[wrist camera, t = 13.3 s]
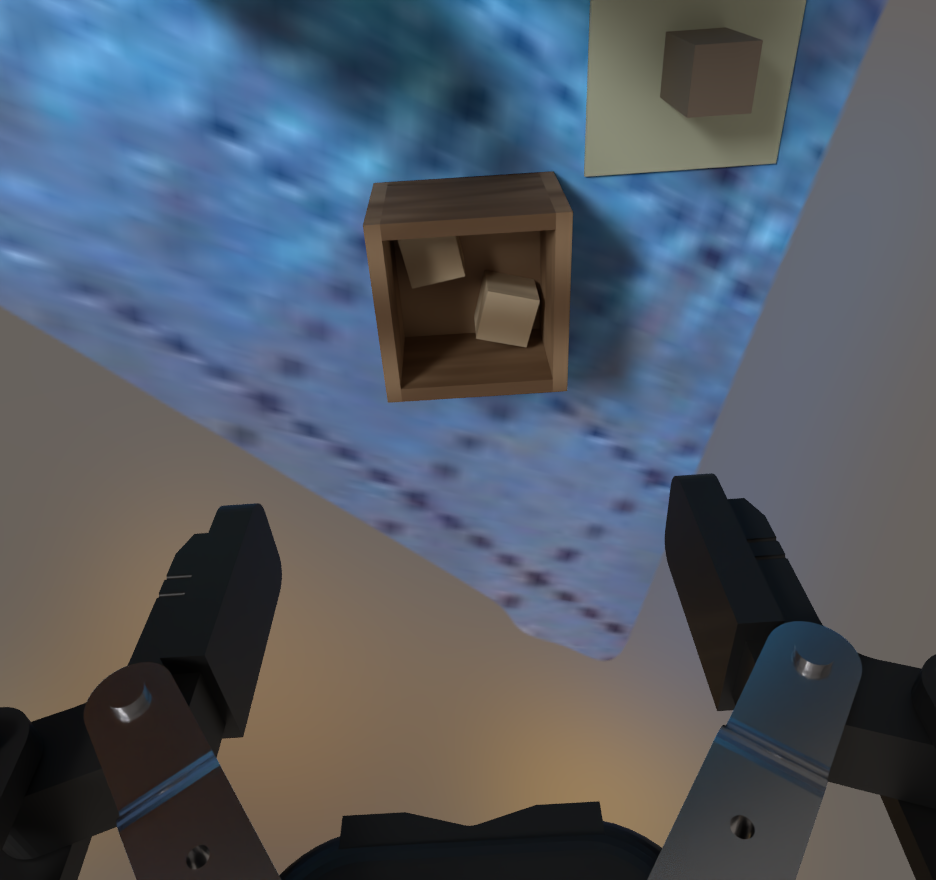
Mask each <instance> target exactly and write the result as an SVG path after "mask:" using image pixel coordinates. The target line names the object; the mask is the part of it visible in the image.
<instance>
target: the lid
mask: <svg viewBox="0 0 936 880" xmlns="http://www.w3.org/2000/svg"><path fill="white" fill-rule="evenodd" d="M805 5H806V0H590V19H589V47H588V76H587V105H586V134H585V162H584V176H585V177H588V176H603V175H617V174H631V173H645V172H660V171H674V170H688V169H702V168H717V167H731V166H745V165H759V164H773V163H776V160H777V155H778V149H779V144H780V139H781V133H782V128H783V123H784V117H785V112H786V107H787V101H788V96H789V90H790V85H791V80H792V74H793V69H794V64H795V58H796V53H797V48H798V42H799V37H800V32H801V26H802V21H803V16H804V10H805Z"/></svg>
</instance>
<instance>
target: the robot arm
mask: <svg viewBox="0 0 936 880" xmlns="http://www.w3.org/2000/svg"><path fill="white" fill-rule="evenodd" d="M665 550H666V557H667V562H668V565H669V568H670V571H671V574H672V577H673V580H674V583H675V586H676V589H677V592H678V595H679V598H680V601H681V604H682V607H683V610H684V613H685V616H686V619H687V622H688V625H689V628H690V631H691V634H692V637H693V640H694V643H695V646H696V649H697V652H698V655H699V658H700V661H701V664H702V667H703V670H704V673H705V676H706V679H707V682H708V684H709V688H710V691H711V694H712V697H713V700H714V703H715V706H716V709H717V711H725V710H733V712H732V715H731V717H730V719H729V721H728V723H727V724H726V726H725V725H723V726H722V727H721V728H720V730H719V732H718V733H717V735H716V737H715V739H714V741H713V743H712V745H711V748H710V750H709V752H708V754H707V756H706V758H705V760H704V762H703V764H702V767H701V769H700V771H699V773H698V775H697V777H696V779H695V781H694V783H693V785H692V787H691V790H690V791H689V794H688V796H687V798H686V800H685V802H684V804H683V806H682V808H681V810H680V813H679V815H678V817H677V819H676V821H675V823H674V825H673V827H672V829H671V831H670V833H669V835H668V837H667V839H666V842H665V844H664V846H663V848H661V847H660V846H659V845H657V844H656V843H654V842H652V841H651V840H649V839H648V838H646V837H645V836H642V835H641V834H639V833H637V832H635V831H633V830H630V829H628V828H625V827H622V826H620V825H617V824H614V823H609V822H605V821H603V820H602V815H601V808H600V803H599V802H582V803H565V804H548V805H535V806H532V807H529V808H526V809H523V810H520V811H517V812H514V813H511V814H508V815H505V816H502V817H499V818H496V819H493V820H490V821H487V822H484V823H481V824H478V825H474V826H466V825H465V826H464V825H460V824H456V823H451V822H446V821H442V820H438V819H433V818H428V817H424V816H419V815H415V814H410V813H405V812H404V813H386V814H370V815H352V816H343V818H342V826H341V835H340V837H337V838H334V839H331V840H329V841H327V842H325V843H323V844H321V845H319V846H317V847H315V848H313V849H312V850H310V851H309V852H307V853H306V854H304V855H303V856H301V857H300V858H299V859H297V860H296V861H295V862H294V863H292V864H291V865H290V866H289V867H287V868H286V869H285V871H283V872H282V873H281V874H280V875H279V874H278V873H277V871H276V869H275V867H274V865H273V863H272V861H271V860H270V858H269V856H268V854H267V852H266V850H265V848H264V847H263V845H262V843H261V841H260V839H259V837H258V835H257V833H256V831H255V830H254V828H253V826H252V824H251V822H250V820H249V818H248V816H247V815H246V813H245V811H244V809H243V807H242V805H241V803H240V801H239V800H238V798H237V796H236V794H235V792H234V791H233V788H232V787H231V785H230V783H229V781H228V779H227V777H226V775H225V773H224V772H223V770H222V768H221V766H220V764H219V762H218V760H217V754H218V751H219V747H220V743H221V740H222V738H238V737H243V735H244V731H245V727H246V724H247V720H248V716H249V712H250V708H251V704H252V700H253V696H254V692H255V688H256V684H257V680H258V676H259V672H260V668H261V664H262V660H263V656H264V652H265V648H266V644H267V640H268V636H269V633H270V629H271V624H272V621H273V617H274V612H275V608H276V605H277V601H278V597H279V593H280V589H281V580H282V570H281V561H280V557H279V554H278V551H277V547H276V544H275V541H274V538H273V536H272V532H271V529H270V526H269V523H268V520H267V517H266V514H265V511H264V509H263V507H262V506H261V504H243V505H228V506H221V507H220V508H219V509H218V510H217V513H216V515H215V517H214V520H213V523H212V525H211V528H210V530H209V533H202V534H194V535H193V536H192V537H191V538H190V539H189V541H188V542H187V543H186V544H185V545H184V546H183V547H182V548H181V549H180V550H179V551H178V552H177V553H176V555H175V557H174V559H173V562H172V564H171V566H170V569H169V571H168V573H167V580H164V583H163V585H162V587H161V590H160V592H159V598H157V599H156V602H155V604H154V606H153V608H152V610H151V613H150V615H149V617H148V620H147V622H146V624H145V627H144V629H143V631H142V634H141V636H140V638H139V641H138V643H137V645H136V648H135V650H134V652H133V655H132V657H131V659H130V662H129V663H128V665H127V666H126V667H123V668H121V669H119V670H117V671H116V672H114V673H112V674H111V675H109V676H108V677H107V678H106V679H104V680H103V681H102V682H101V683H100V684H99V685H98V686H97V687H96V688H95V689H94V691H93V692H92V693H91V695H90V697H89V698H88V700H87V702H86V703H84V704H82V705H79V706H77V707H74V708H71V709H68V710H65V711H62V712H59V713H56V714H53V715H50V716H47V717H44V718H41V719H38V720H36V721H33V722H30V720H29V719H28V718H27V717H26V715H25V714H24V713H23V712H22V711H20V710H18V709H15V708H10V707H0V880H77V879H78V876H79V873H80V870H81V867H82V864H83V861H84V858H85V855H86V852H87V849H88V846H89V843H90V840H91V837H92V836H94V835H97V834H99V833H102V832H104V831H107V830H110V829H112V828H115V827H117V828H118V831H119V834H120V837H121V840H122V842H123V845H124V848H125V850H126V853H127V856H128V858H129V861H130V864H131V867H132V869H133V872H134V875H135V877H136V880H796V877H797V874H798V870H799V868H800V864H801V862H802V859H803V856H804V853H805V850H806V847H807V843H808V841H809V837H810V835H811V832H812V829H813V826H814V823H815V820H816V817H817V814H818V811H819V807H820V805H821V802H822V799H823V796H824V793H825V790H826V786H827V783H828V782H832V783H836V784H840V785H844V786H848V787H851V788H855V789H859V790H864V791H867V792H871V793H875V794H879V795H880V796H881V798H882V800H883V803H884V805H885V807H886V810H887V812H888V815H889V817H890V820H891V822H892V824H893V827H894V829H895V831H896V834H897V836H898V838H899V840H900V843H901V845H902V848H903V850H904V853H905V855H906V857H907V859H908V862H909V864H910V867H911V869H912V871H913V874H914V876H915V878H916V880H936V655H934V656H932V657H930V658H929V659H928V660H927V661H926V662H925V664H924V665H923V667H922V669H920V668H915V667H911V666H906V665H901V664H896V663H891V662H887V661H882V660H877V659H873V658H870V657H867V656H864V655H861V654H859V653H857V652H856V650H855V649H854V647H853V646H852V645H851V644H850V643H849V642H848V641H847V640H846V639H845V638H844V637H842V636H841V635H840V634H838V633H837V632H835V631H833V630H831V629H829V628H827V627H825V626H823V625H822V623H821V622H820V620H819V618H818V616H817V614H816V612H815V610H814V608H813V607H812V605H811V603H810V601H809V599H808V597H807V595H806V593H805V591H804V589H803V587H802V586H801V584H800V582H799V580H798V578H797V576H796V574H795V572H794V570H793V568H792V567H791V565H790V563H789V561H788V559H786V558H785V553H784V551H783V549H782V548H781V545H780V543H779V542H778V541H776V536H775V534H774V532H773V530H772V528H771V527H770V525H769V522H768V521H767V519H766V517H765V515H763V514H762V513H761V512H760V511H759V510H758V509H756V508H755V507H754V506H753V505H752V504H751V503H749V502H748V501H747V500H746V499H745V498H739V499H727V497H726V495H725V493H724V491H723V489H722V487H721V485H720V483H719V481H718V479H717V477H716V476H715V475H714V474H698V475H683V476H674V477H673V479H672V482H671V489H670V497H669V505H668V513H667V521H666V528H665Z"/></svg>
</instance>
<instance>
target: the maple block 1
mask: <svg viewBox="0 0 936 880" xmlns="http://www.w3.org/2000/svg"><path fill="white" fill-rule="evenodd" d="M398 243H399V246H400V249H401V253H402V256H403V260H404V263H405V266H406V270H407V273H408V276H409V280H410V283H411V286H412V289H413V288H417V287H422V286H426V285H430V284H435V283H439V282H443V281H447V280H452V279H456V278H460V277H464V276H465V268H464V256H463V252H462V248H461V244H460V239H459V236H448V237H433V238H417V239H402V240H398Z"/></svg>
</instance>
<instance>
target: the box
mask: <svg viewBox="0 0 936 880" xmlns="http://www.w3.org/2000/svg"><path fill="white" fill-rule="evenodd" d="M572 224H573V211H572V209H571V207H570V205H569V203H568V201H567V199H566V197H565V194H564V192H563V190H562V188H561V186H560V184H559V182H558V180H557V178H556V176H555V174H554V172H537V173H522V174H506V175H491V176H476V177H460V178H445V179H429V180H414V181H398V182H383V183H374V184H373V188H372V192H371V196H370V200H369V204H368V208H367V211H366V215H365V219H364V223H363V229H364V236H365V244H366V251H367V258H368V265H369V272H370V279H371V286H372V293H373V300H374V307H375V314H376V321H377V329H378V336H379V343H380V350H381V357H382V364H383V371H384V378H385V385H386V392H387V399H388V402H404V401H419V400H435V399H451V398H466V397H482V396H498V395H513V394H529V393H545V392H560V391H567V378H568V347H569V316H570V286H571V255H572ZM448 236H459V239H460V244H461V248H462V252H463V256H464V268H465V276H464V277H460V278H456V279H452V280H447V281H443V282H439V283H435V284H430V285H426V286H422V287H417V288H413V289H412V286H411V283H410V280H409V276H408V273H407V270H406V266H405V263H404V260H403V256H402V253H401V249H400V246H399V243H398V240H402V239H417V238H433V237H448ZM485 270H487V271H492V272H498V273H503V274H508V275H513V276H519V277H524V278H529V279H534V281H535V285H536V288H537V292H538V296H539V299H540V302H539V306H538V309H537V312H536V316H535V319H534V323H533V326H532V330H531V333H530V337H529V340H528V344H527V347H521V346H515V345H509V344H504V343H498V342H492V341H486V340H481V339H476V331H475V321H474V314H475V310H476V306H477V301H478V297H479V293H480V289H481V284H482V280H483V276H484V272H485Z"/></svg>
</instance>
